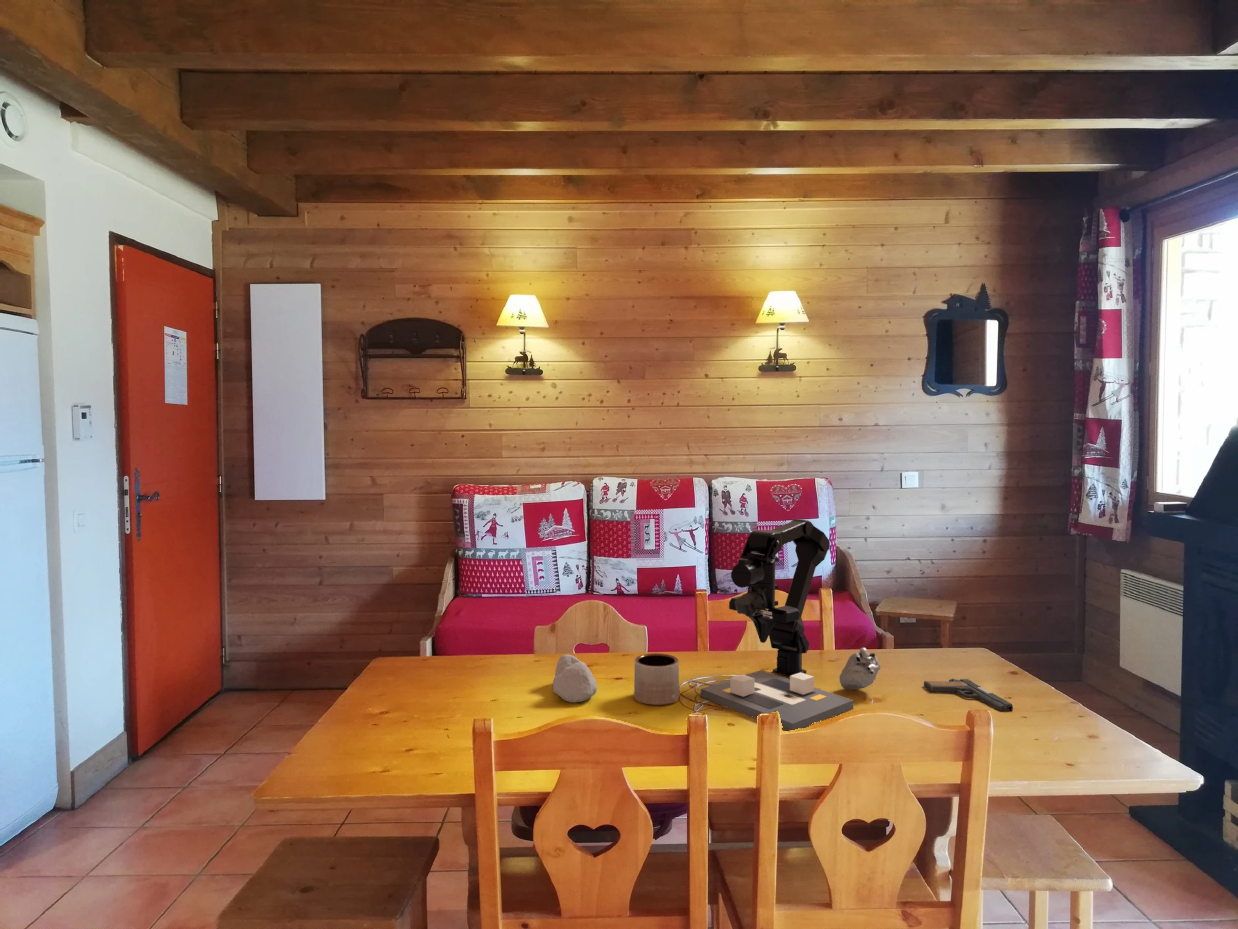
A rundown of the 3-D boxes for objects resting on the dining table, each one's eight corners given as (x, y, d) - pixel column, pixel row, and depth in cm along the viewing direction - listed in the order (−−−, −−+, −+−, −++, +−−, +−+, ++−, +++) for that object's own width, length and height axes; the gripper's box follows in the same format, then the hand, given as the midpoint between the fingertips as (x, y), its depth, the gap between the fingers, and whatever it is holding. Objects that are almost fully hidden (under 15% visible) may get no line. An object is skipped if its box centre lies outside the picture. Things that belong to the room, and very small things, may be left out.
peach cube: (800, 686, 191) (800, 672, 190) (813, 691, 188) (814, 676, 187) (789, 690, 188) (790, 675, 188) (803, 694, 185) (803, 680, 185)
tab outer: (741, 688, 190) (741, 674, 189) (754, 693, 186) (754, 678, 186) (730, 692, 187) (730, 677, 187) (742, 696, 184) (743, 682, 184)
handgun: (968, 719, 179) (1014, 713, 181) (968, 709, 179) (1015, 703, 181) (920, 688, 198) (962, 683, 200) (920, 679, 197) (962, 674, 200)
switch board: (761, 677, 204) (761, 669, 204) (853, 708, 183) (853, 699, 182) (700, 696, 191) (700, 687, 191) (792, 732, 169) (792, 722, 169)
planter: (676, 708, 183) (676, 668, 183) (630, 705, 186) (630, 665, 185) (681, 692, 194) (681, 654, 193) (638, 689, 196) (638, 651, 196)
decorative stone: (605, 692, 186) (581, 659, 186) (571, 719, 185) (547, 685, 184) (594, 674, 204) (572, 644, 203) (563, 698, 202) (540, 668, 201)
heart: (880, 684, 198) (872, 637, 198) (887, 697, 189) (878, 648, 188) (839, 689, 199) (831, 643, 199) (844, 702, 190) (836, 654, 190)
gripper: (714, 579, 199) (713, 640, 200) (771, 592, 185) (770, 657, 186) (744, 573, 206) (743, 632, 207) (801, 585, 192) (800, 648, 193)
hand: (763, 642), depth 198 cm, fingers closed
